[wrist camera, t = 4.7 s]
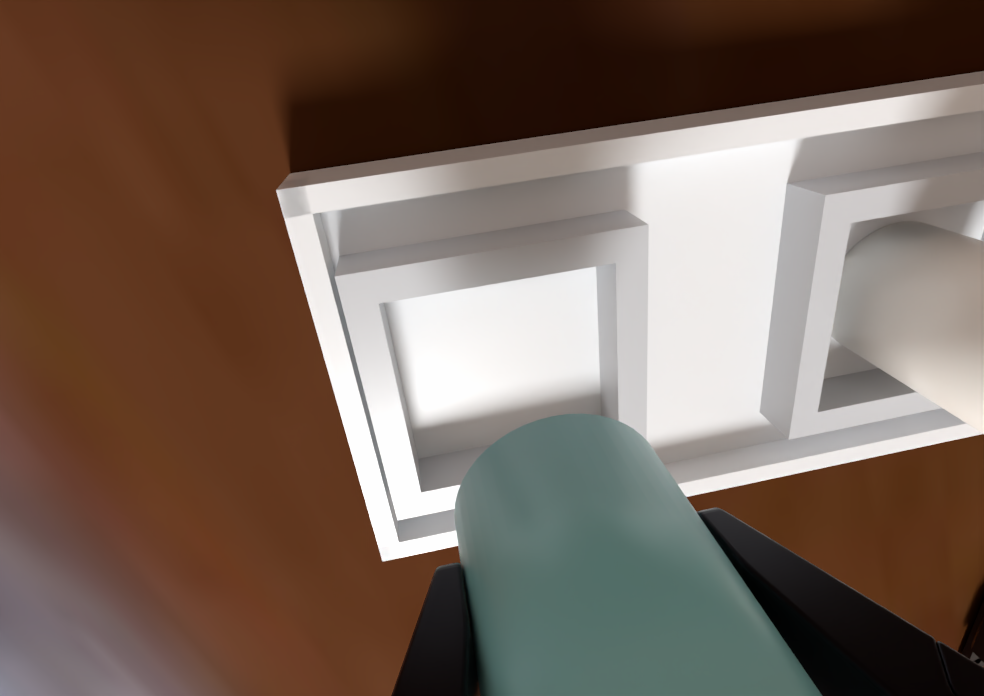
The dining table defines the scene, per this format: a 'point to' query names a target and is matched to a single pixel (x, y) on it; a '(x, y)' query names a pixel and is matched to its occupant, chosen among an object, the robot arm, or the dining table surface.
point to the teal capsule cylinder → (604, 575)
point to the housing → (628, 290)
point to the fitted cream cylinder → (918, 312)
